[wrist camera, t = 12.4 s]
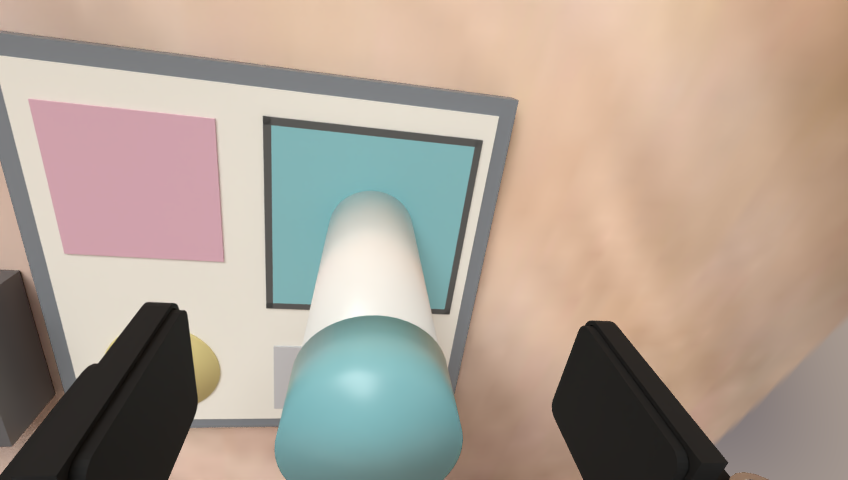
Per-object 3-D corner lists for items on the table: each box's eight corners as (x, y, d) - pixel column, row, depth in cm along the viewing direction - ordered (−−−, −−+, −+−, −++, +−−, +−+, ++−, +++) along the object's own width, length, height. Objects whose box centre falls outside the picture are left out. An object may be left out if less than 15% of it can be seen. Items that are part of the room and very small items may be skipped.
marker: (420, 192, 18) (477, 380, 8) (409, 271, 20) (447, 507, 10) (328, 184, 18) (273, 375, 8) (324, 266, 19) (275, 511, 9)
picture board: (512, 97, 18) (519, 101, 17) (445, 413, 26) (448, 427, 25) (-18, 28, 15) (-42, 28, 14) (83, 416, 22) (72, 432, 21)
